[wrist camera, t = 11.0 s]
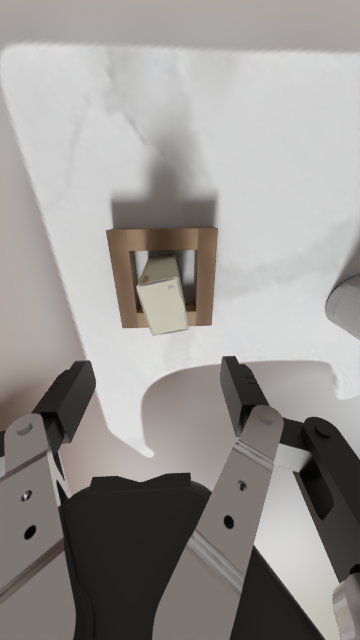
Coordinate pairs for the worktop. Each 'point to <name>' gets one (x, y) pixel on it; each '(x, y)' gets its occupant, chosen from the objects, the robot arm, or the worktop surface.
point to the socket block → (163, 239)
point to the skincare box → (162, 296)
